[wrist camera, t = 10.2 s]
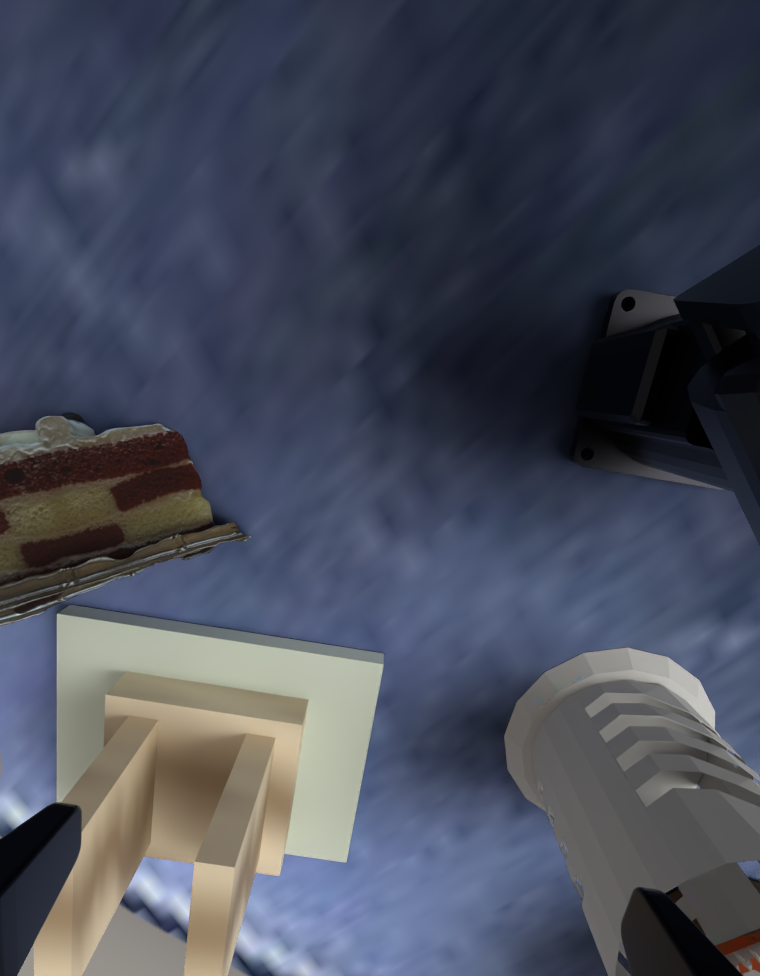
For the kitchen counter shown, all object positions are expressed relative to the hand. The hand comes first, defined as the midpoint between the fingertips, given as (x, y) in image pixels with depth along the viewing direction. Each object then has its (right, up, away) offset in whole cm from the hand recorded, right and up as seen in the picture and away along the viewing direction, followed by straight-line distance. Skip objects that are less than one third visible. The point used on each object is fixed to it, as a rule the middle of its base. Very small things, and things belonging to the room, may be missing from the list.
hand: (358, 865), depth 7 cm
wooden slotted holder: (-7, -6, +13) cm, 16 cm away
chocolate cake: (-12, +6, +12) cm, 17 cm away
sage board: (-7, -6, +14) cm, 16 cm away
